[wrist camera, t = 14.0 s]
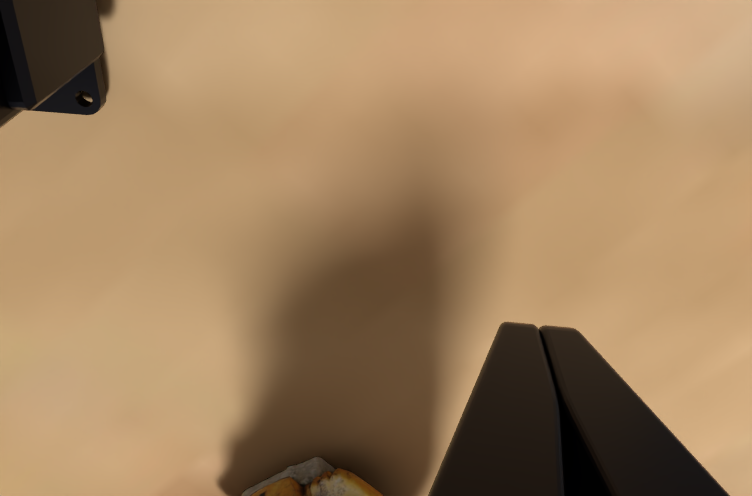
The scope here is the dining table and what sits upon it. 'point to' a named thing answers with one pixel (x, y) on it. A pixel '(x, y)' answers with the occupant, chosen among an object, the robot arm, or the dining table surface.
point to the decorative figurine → (313, 482)
